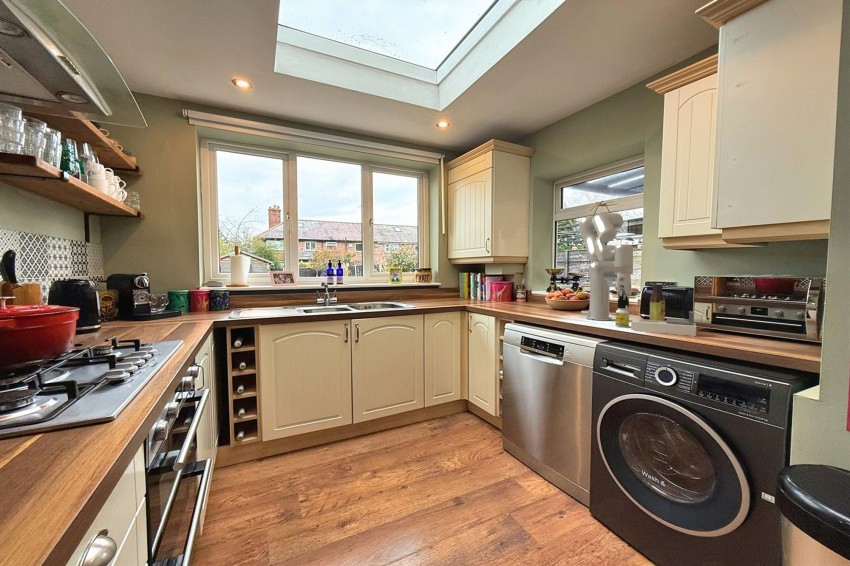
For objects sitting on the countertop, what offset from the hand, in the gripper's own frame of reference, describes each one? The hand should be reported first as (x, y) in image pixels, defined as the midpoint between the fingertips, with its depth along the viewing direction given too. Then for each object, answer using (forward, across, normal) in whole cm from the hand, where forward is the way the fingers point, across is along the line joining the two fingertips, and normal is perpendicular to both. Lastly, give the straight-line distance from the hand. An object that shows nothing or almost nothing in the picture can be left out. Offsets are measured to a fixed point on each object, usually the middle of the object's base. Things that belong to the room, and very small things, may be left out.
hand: (623, 307), depth 159 cm
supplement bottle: (+9, +1, +1) cm, 9 cm away
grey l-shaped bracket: (+5, -4, -21) cm, 22 cm away
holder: (+9, -4, -15) cm, 18 cm away
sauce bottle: (+8, +25, -11) cm, 29 cm away
